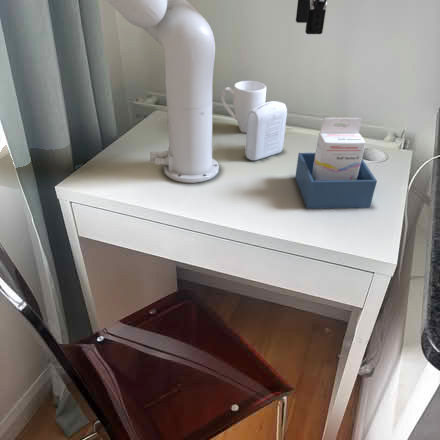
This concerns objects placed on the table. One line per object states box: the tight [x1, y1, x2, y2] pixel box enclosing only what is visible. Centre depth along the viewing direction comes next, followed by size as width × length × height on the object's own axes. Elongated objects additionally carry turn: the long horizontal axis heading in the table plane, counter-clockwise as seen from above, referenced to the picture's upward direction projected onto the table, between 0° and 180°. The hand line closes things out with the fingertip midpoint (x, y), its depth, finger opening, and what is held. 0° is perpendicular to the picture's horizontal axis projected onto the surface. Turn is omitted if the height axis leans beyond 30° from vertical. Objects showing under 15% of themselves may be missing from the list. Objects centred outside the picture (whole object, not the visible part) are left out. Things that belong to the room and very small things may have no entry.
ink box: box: [311, 117, 367, 181], centre depth 93 cm, size 9×5×15 cm, turn 93°
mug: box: [220, 80, 267, 134], centre depth 120 cm, size 12×8×11 cm
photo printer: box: [244, 100, 288, 161], centre depth 108 cm, size 10×4×12 cm, turn 128°
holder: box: [294, 152, 378, 210], centre depth 96 cm, size 13×13×6 cm
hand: (308, 27), depth 90 cm, fingers open, 9 cm apart
